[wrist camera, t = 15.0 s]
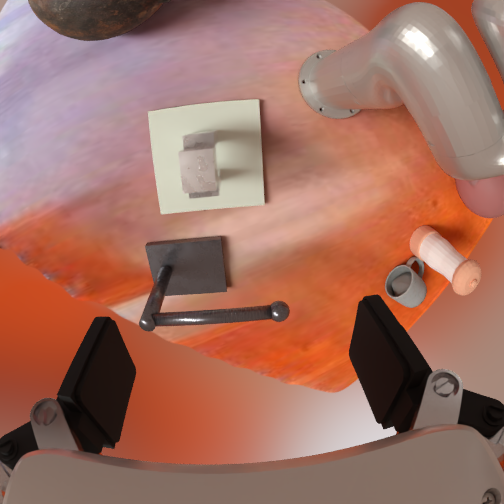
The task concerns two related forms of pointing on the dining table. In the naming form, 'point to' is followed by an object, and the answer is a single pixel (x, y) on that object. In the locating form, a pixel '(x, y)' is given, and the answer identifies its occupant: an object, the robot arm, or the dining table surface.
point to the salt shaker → (445, 259)
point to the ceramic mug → (407, 284)
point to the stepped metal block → (200, 165)
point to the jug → (94, 16)
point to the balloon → (483, 196)
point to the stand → (195, 284)
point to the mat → (227, 152)
